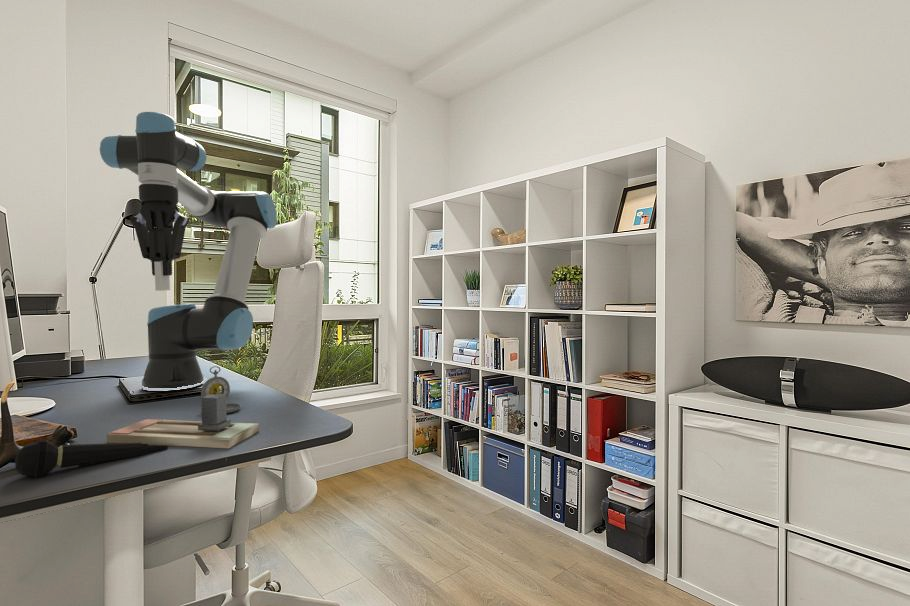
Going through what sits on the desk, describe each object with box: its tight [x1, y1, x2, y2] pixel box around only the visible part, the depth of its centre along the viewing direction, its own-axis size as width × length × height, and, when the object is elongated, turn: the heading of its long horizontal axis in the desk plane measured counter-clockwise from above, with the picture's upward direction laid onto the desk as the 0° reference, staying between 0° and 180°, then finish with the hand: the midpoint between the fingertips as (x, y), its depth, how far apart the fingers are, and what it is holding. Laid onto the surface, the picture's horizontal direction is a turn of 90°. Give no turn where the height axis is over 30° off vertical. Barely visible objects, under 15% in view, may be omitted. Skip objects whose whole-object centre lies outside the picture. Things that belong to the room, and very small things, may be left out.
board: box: [106, 418, 260, 449], centre depth 92 cm, size 10×24×2 cm, turn 83°
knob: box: [198, 393, 232, 431], centre depth 91 cm, size 4×4×6 cm
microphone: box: [14, 438, 169, 479], centre depth 78 cm, size 6×6×20 cm
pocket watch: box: [200, 365, 241, 414], centre depth 111 cm, size 8×8×10 cm
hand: (162, 290), depth 110 cm, fingers closed
